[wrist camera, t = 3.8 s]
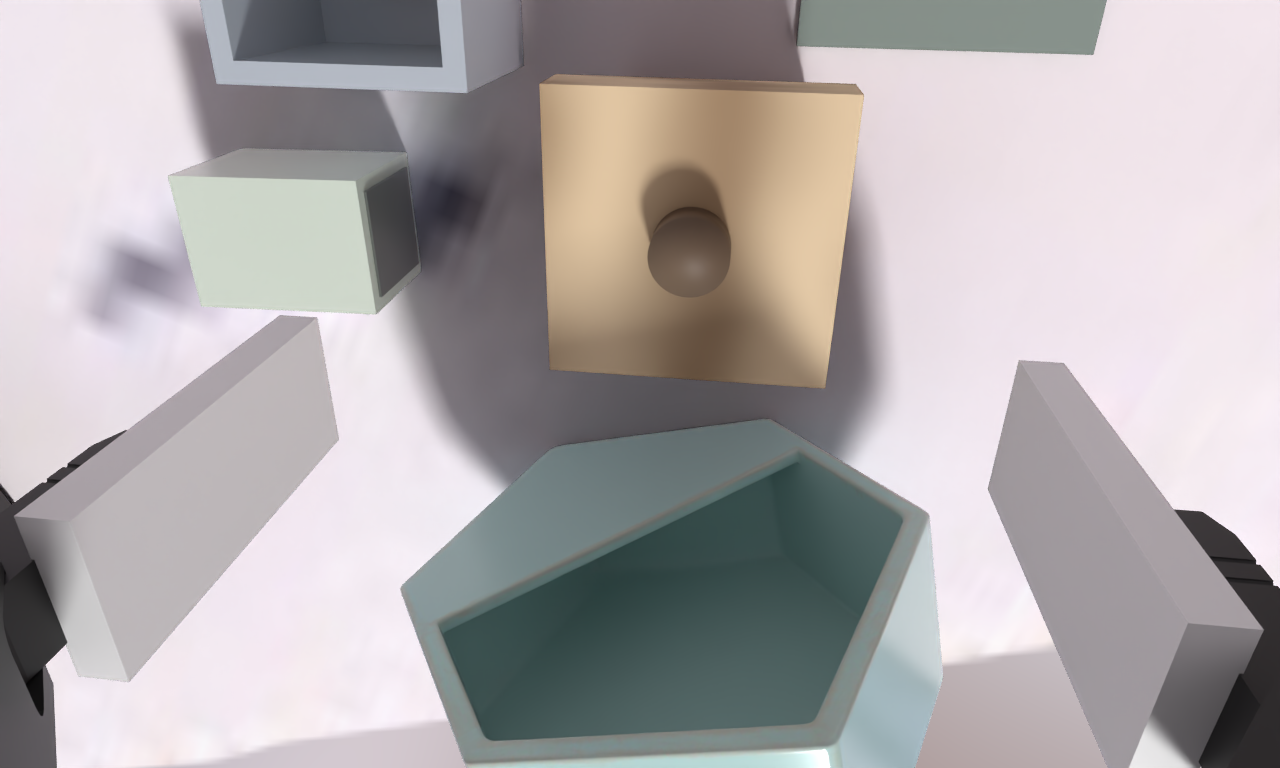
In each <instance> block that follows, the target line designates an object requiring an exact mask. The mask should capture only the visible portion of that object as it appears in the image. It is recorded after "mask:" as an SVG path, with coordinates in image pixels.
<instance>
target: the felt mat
mask: <svg viewBox="0 0 1280 768" xmlns="http://www.w3.org/2000/svg"><path fill="white" fill-rule="evenodd" d="M1106 1H1107V0H801V3H800V13H799V24H798V34H797V46H809V47H844V48H878V49H913V50H947V51H981V52H1016V53H1050V54H1084V55H1093V54H1094V50H1095V46H1096V42H1097V38H1098V34H1099V30H1100V26H1101V22H1102V18H1103V13H1104V9H1105V5H1106Z"/></svg>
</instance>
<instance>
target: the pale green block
mask: <svg viewBox="0 0 1280 768" xmlns="http://www.w3.org/2000/svg"><path fill="white" fill-rule="evenodd" d="M168 179H169V183H170V186H171V190H172V194H173V198H174V202H175V206H176V210H177V214H178V218H179V222H180V226H181V229H182V233H183V237H184V241H185V245H186V249H187V253H188V257H189V261H190V265H191V269H192V272H193V276H194V280H195V284H196V288H197V292H198V296H199V300H200V304H201V306H202V307H224V308H246V309H268V310H290V311H312V312H334V313H356V314H377V313H378V312H379V311H380V310H381V309H382V308H383V307H385V306H386V305H387V304H388V303H389V302H390V301H391V300H392V299H393V298H394V297H395V296H396V295H397V294H398V293H399V292H400V291H401V290H402V289H403V288H404V287H406V286H407V285H408V284H409V283H410V282H411V281H412V280H413V279H414V278H415V277H416V276H417V275H418V274H419V273H420V272H421V263H420V255H419V247H418V239H417V231H416V223H415V215H414V208H413V200H412V192H411V184H410V176H409V168H408V160H407V152H378V151H337V150H296V149H255V148H241V149H238V150H235V151H233V152H230V153H227V154H225V155H222V156H219V157H217V158H214V159H211V160H209V161H206V162H203V163H200V164H198V165H195V166H192V167H190V168H187V169H184V170H182V171H179V172H176V173H174V174H171V175H168Z"/></svg>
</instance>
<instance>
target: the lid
mask: <svg viewBox="0 0 1280 768" xmlns="http://www.w3.org/2000/svg"><path fill="white" fill-rule="evenodd" d="M539 89H540V116H541V144H542V171H543V198H544V226H545V253H546V281H547V308H548V336H549V363H550V370H562V371H576V372H591V373H605V374H620V375H634V376H649V377H663V378H678V379H692V380H707V381H721V382H736V383H750V384H765V385H779V386H794V387H808V388H823V389H825V386H826V379H827V371H828V364H829V356H830V349H831V341H832V334H833V326H834V318H835V311H836V303H837V296H838V288H839V281H840V273H841V266H842V258H843V251H844V243H845V235H846V228H847V220H848V213H849V205H850V198H851V190H852V183H853V175H854V168H855V160H856V153H857V145H858V137H859V130H860V122H861V115H862V107H863V100H864V94H863V93H862V92H861V90H860V89H859V88H858V87H857V85H856V84H840V83H810V82H780V81H750V80H720V79H690V78H659V77H629V76H599V75H569V74H555V75H553V76H551V77H550V78H548V79H546V80H545V81H543V82H541V83H540V84H539Z"/></svg>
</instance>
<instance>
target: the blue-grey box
mask: <svg viewBox="0 0 1280 768" xmlns="http://www.w3.org/2000/svg"><path fill="white" fill-rule="evenodd" d="M200 5H201V10H202V15H203V19H204V24H205V29H206V34H207V39H208V44H209V49H210V54H211V59H212V64H213V69H214V73H215V78H216V83H217V84H229V85H257V86H284V87H312V88H340V89H368V90H396V91H423V92H451V93H469V92H471V91H473V90H475V89H477V88H479V87H481V86H483V85H485V84H487V83H489V82H491V81H494V80H496V79H498V78H500V77H502V76H504V75H506V74H508V73H510V72H512V71H514V70H516V69H518V68H521V67H523V66H524V59H523V36H522V13H521V0H200Z"/></svg>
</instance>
